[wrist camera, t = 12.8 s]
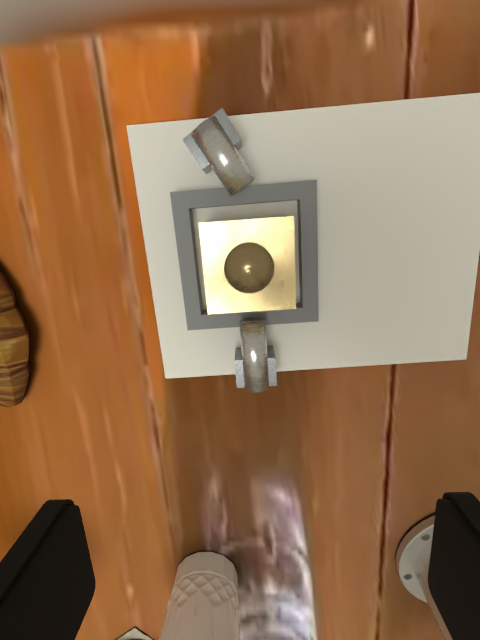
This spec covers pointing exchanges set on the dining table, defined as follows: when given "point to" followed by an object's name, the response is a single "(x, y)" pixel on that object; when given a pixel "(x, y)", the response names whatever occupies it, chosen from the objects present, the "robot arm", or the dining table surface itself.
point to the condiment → (134, 635)
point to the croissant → (12, 347)
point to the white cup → (203, 600)
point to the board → (325, 232)
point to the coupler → (249, 264)
